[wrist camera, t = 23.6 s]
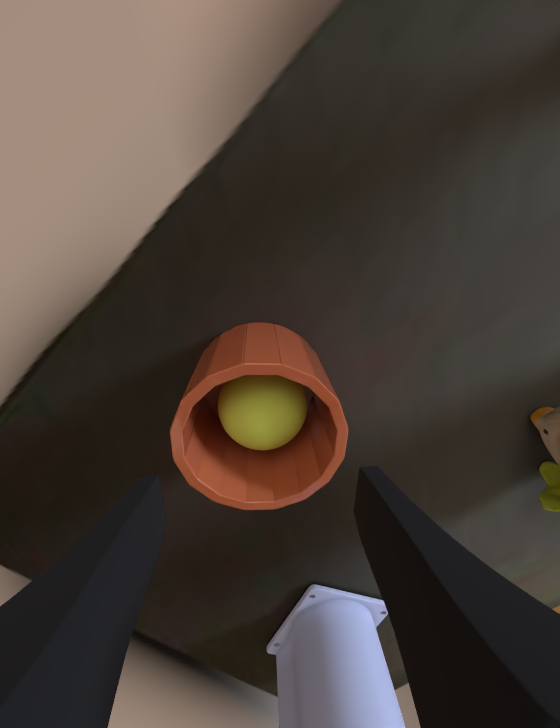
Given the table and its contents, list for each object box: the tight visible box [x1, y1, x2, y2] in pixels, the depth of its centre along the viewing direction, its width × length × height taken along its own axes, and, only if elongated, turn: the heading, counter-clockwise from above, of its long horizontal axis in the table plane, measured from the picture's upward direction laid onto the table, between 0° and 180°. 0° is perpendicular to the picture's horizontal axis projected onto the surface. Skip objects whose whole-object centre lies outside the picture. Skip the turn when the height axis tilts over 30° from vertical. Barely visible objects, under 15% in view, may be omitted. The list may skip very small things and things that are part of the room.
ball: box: [218, 375, 308, 450], centre depth 16 cm, size 5×5×5 cm
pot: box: [170, 322, 348, 510], centre depth 16 cm, size 7×7×6 cm
